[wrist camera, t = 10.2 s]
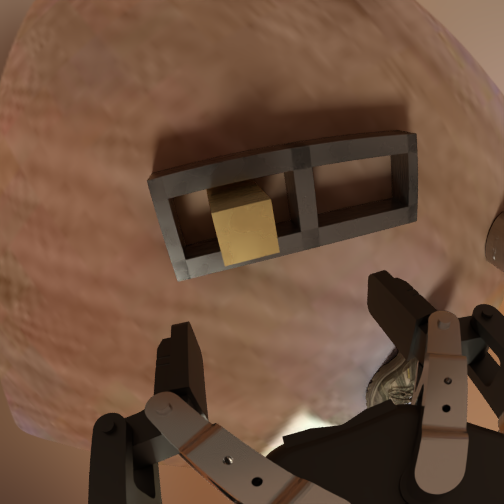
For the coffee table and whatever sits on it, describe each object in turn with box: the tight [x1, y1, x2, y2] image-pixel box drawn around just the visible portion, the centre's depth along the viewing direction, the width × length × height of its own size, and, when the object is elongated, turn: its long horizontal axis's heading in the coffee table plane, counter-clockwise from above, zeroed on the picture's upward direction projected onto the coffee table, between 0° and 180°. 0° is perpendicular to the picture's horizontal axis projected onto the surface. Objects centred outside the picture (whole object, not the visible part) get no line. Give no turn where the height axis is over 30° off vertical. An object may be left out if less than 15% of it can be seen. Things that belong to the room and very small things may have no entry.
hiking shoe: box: [366, 351, 418, 408], centre depth 39 cm, size 9×21×12 cm, turn 168°
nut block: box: [206, 179, 280, 266], centre depth 24 cm, size 4×4×7 cm
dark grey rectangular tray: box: [147, 130, 418, 281], centre depth 26 cm, size 24×9×3 cm, turn 100°
